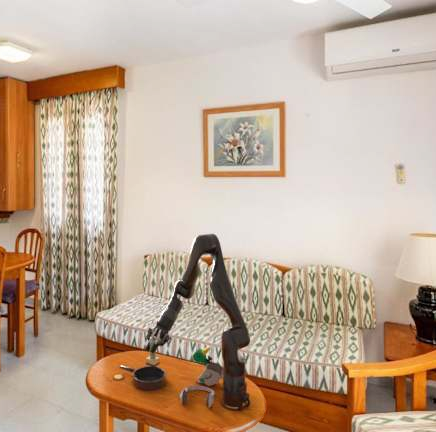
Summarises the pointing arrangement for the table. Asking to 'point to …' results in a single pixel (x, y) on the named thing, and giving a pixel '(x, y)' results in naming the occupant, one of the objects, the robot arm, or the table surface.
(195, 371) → the table surface
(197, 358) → the toy
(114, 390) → the table surface
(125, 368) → the pan handle
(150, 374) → the pan
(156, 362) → the green peg on base
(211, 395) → the headphones
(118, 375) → the disc
